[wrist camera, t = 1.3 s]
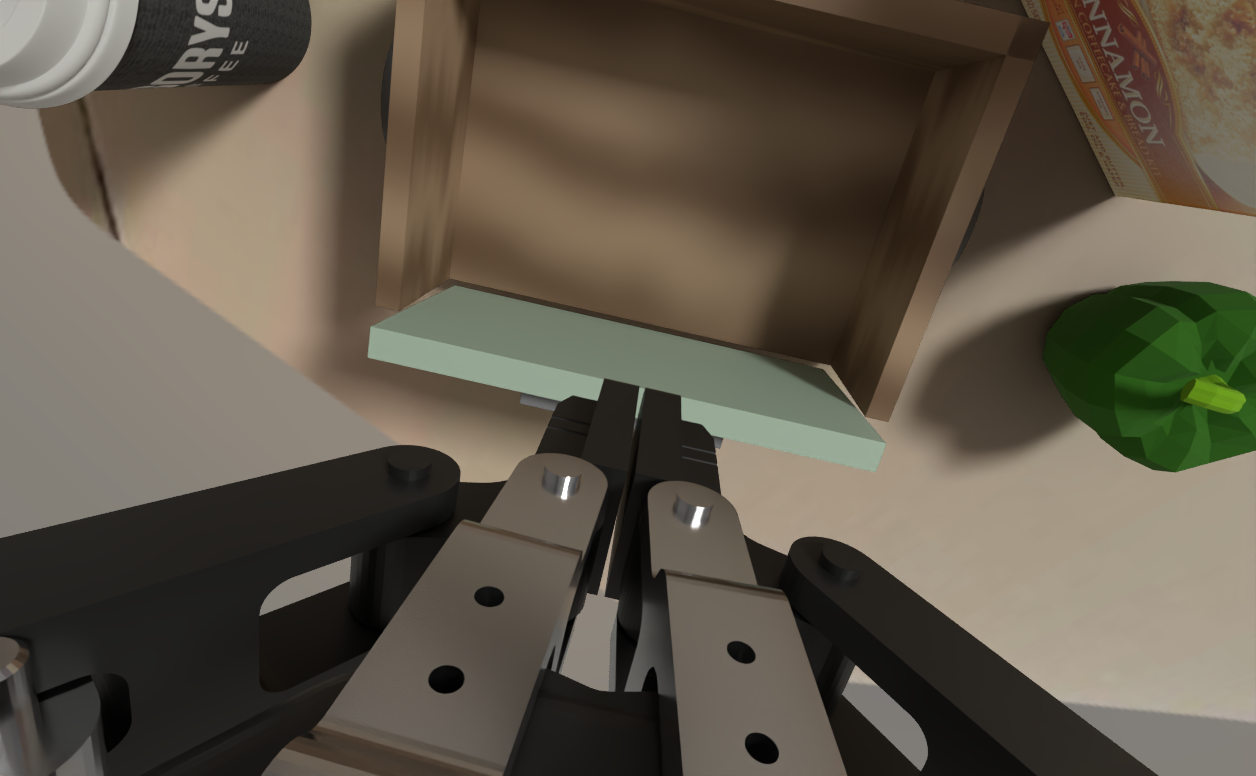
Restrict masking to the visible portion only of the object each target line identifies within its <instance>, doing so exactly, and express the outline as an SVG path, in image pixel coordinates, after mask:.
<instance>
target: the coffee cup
mask: <svg viewBox="0 0 1256 776" xmlns="http://www.w3.org/2000/svg"><path fill="white" fill-rule="evenodd" d="M310 35H311V11H310V5H309V1H308V0H0V104H2V105H7V106H11V107H19V108H29V109H40V108H50V107H56V106H61V105H64V104H68V103H70V102H73V101H76V100H78V99H80V98H82V97H84V96H86V95H87V94H89V93H90V92H92V91H98V90H120V89H144V88H169V87H195V86H222V85H250V84H266V83H271V82H275V81H278V80H280V79H282V78H284V77H286V76H287V75H289V74H290V73H291V72H292V71H293V70H294V69H295V68H296V67H297V66H298V65H299V63H300V62H301V60H302V59H303V57H304V55H305V53H306V50H307V48H308V44H309V40H310Z"/></svg>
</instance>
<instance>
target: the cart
mask: <svg viewBox="0 0 1256 776" xmlns="http://www.w3.org/2000/svg"><path fill="white" fill-rule="evenodd" d="M1049 25H1050V22H1046V21H1041V20H1037V19H1033V18H1029V17H1025V16H1020V15H1016V14H1012V13H1008V12H1004V11H999V10H995V9H991V8H987V7H983V6H978V5H974V4H970V3H966V2H962V1H957V0H397V2H396V16H395V31H394V39H393V41H392V44H391V46H390V49H389V52H388V56H387V59H386V64H385V69H384V74H383V81H382V92H381V115H382V126H383V132H384V138H385V141H386V160H385V174H384V188H383V203H382V217H381V231H380V246H379V260H378V275H377V289H376V303H375V306H379V307H384V308H388V309H392V310H397V311H400V310H401V309H403V308H404V307H406V306H407V305H409V304H411V303H412V302H414V301H415V300H417V299H418V298H420V297H421V296H423V295H424V294H426V293H428V292H429V291H431V290H432V289H434V288H435V287H437V286H438V285H440V284H442V283H443V282H445V281H446V280H448V279H449V278H450V279H454V280H459V281H463V282H467V283H472V284H476V285H481V286H485V287H489V288H494V289H498V290H503V291H507V292H511V293H516V294H520V295H524V296H529V297H533V298H538V299H542V300H546V301H551V302H555V303H560V304H564V305H568V306H573V307H577V308H581V309H586V310H590V311H595V312H599V313H603V314H608V315H612V316H616V317H621V318H625V319H630V320H634V321H638V322H643V323H647V324H652V325H656V326H660V327H665V328H669V329H673V330H678V331H682V332H687V333H691V334H695V335H700V336H704V337H709V338H713V339H717V340H722V341H726V342H730V343H735V344H739V345H744V346H748V347H752V348H757V349H761V350H765V351H770V352H774V353H779V354H783V355H787V356H792V357H796V358H801V359H805V360H809V361H814V362H818V363H822V364H827V365H831V366H832V368H833V369H834V371H835V372H836V374H837V375H838V377H839V378H840V380H841V381H842V383H843V384H844V386H845V387H846V389H847V390H848V392H849V393H850V395H851V396H852V398H853V399H854V401H855V402H856V404H857V405H858V407H859V408H860V410H861V411H862V413H863V414H864V416H865V417H868V418H872V419H877V420H881V421H886V422H889V419H890V417H891V414H892V412H893V409H894V407H895V404H896V402H897V399H898V397H899V395H900V392H901V390H902V387H903V385H904V382H905V380H906V377H907V375H908V372H909V370H910V367H911V365H912V363H913V360H914V358H915V355H916V353H917V350H918V348H919V345H920V343H921V340H922V338H923V335H924V333H925V331H926V328H927V326H928V323H929V321H930V318H931V316H932V313H933V311H934V308H935V306H936V304H937V301H938V299H939V296H940V294H941V291H942V289H943V286H944V284H945V281H946V279H947V276H948V274H949V272H950V269H951V267H952V266H953V265H954V263H955V262H956V260H957V259H958V258H959V256H960V254H961V253H962V251H963V249H964V248H965V246H966V244H967V242H968V240H969V238H970V236H971V233H972V231H973V229H974V226H975V223H976V221H977V218H978V215H979V211H980V208H981V204H982V199H983V194H984V186H985V183H986V180H987V178H988V176H989V173H990V171H991V168H992V166H993V163H994V161H995V158H996V156H997V153H998V151H999V148H1000V146H1001V144H1002V141H1003V139H1004V136H1005V134H1006V131H1007V129H1008V126H1009V124H1010V121H1011V119H1012V116H1013V114H1014V112H1015V109H1016V107H1017V104H1018V102H1019V99H1020V97H1021V94H1022V92H1023V89H1024V87H1025V84H1026V82H1027V80H1028V77H1029V75H1030V72H1031V70H1032V67H1033V65H1034V62H1035V60H1036V57H1037V55H1038V53H1039V50H1040V48H1041V45H1042V43H1043V40H1044V38H1045V35H1046V33H1047V30H1048V28H1049Z"/></svg>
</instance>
